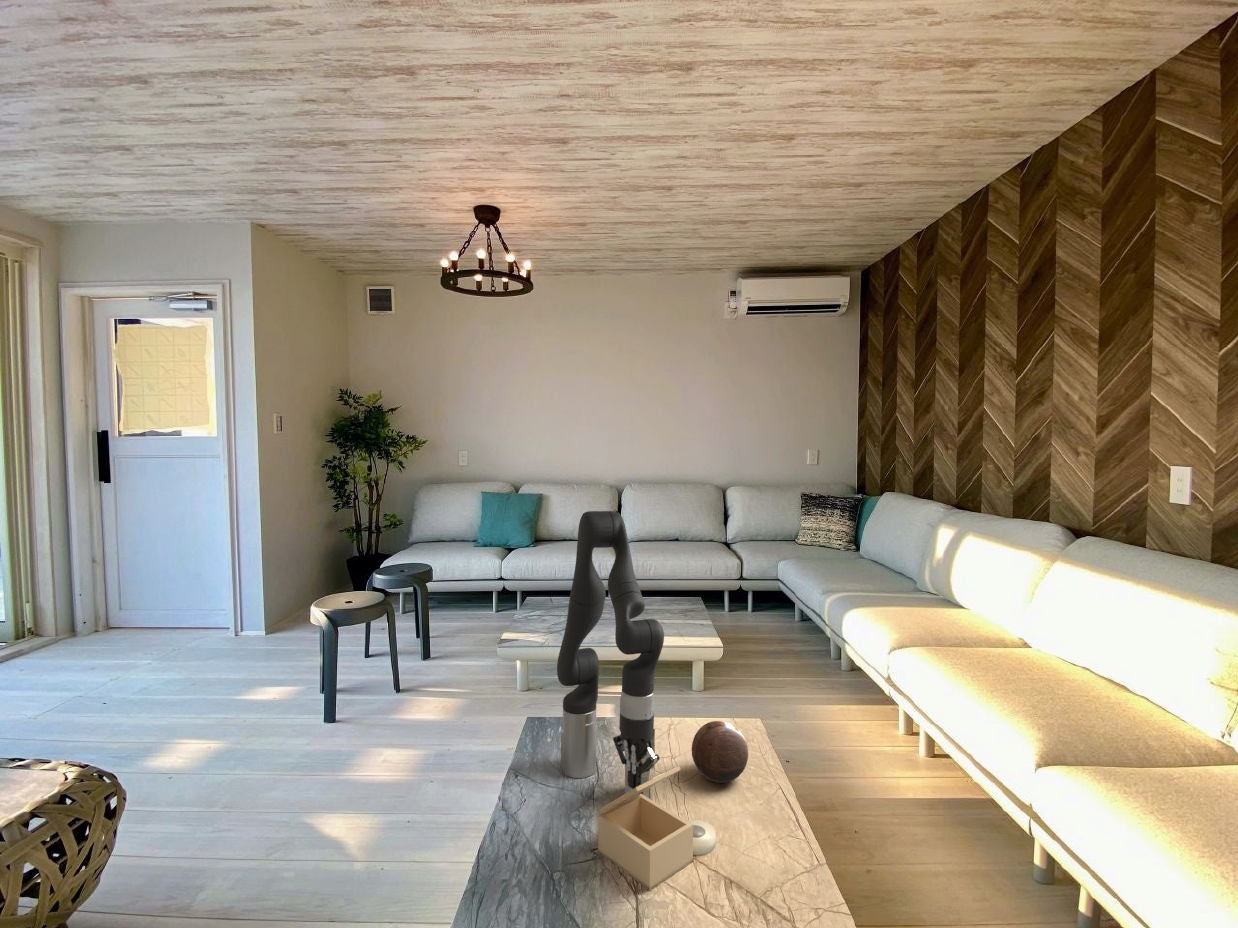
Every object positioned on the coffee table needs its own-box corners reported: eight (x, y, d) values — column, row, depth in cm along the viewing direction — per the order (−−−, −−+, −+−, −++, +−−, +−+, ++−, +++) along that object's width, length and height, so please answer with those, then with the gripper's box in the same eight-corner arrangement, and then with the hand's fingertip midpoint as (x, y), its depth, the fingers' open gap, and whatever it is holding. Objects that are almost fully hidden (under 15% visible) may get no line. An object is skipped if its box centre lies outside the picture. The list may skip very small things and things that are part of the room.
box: (598, 851, 133) (598, 815, 133) (640, 827, 142) (640, 793, 142) (649, 890, 121) (650, 850, 121) (692, 861, 130) (693, 824, 130)
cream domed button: (667, 840, 137) (667, 829, 137) (693, 824, 143) (693, 814, 143) (697, 860, 130) (697, 849, 130) (723, 842, 136) (724, 831, 136)
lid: (598, 814, 133) (596, 809, 134) (640, 792, 142) (639, 788, 142) (637, 791, 124) (635, 786, 124) (680, 769, 133) (678, 765, 133)
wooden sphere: (758, 788, 159) (759, 731, 159) (707, 798, 154) (707, 739, 154) (730, 760, 173) (730, 708, 173) (682, 769, 168) (682, 715, 168)
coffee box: (630, 786, 159) (631, 725, 159) (655, 789, 158) (655, 728, 158) (624, 806, 150) (624, 742, 150) (649, 809, 149) (650, 744, 149)
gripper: (604, 704, 135) (601, 779, 136) (645, 726, 126) (642, 807, 127) (629, 695, 140) (626, 768, 141) (670, 716, 131) (667, 794, 132)
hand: (634, 786), depth 134 cm, fingers closed
